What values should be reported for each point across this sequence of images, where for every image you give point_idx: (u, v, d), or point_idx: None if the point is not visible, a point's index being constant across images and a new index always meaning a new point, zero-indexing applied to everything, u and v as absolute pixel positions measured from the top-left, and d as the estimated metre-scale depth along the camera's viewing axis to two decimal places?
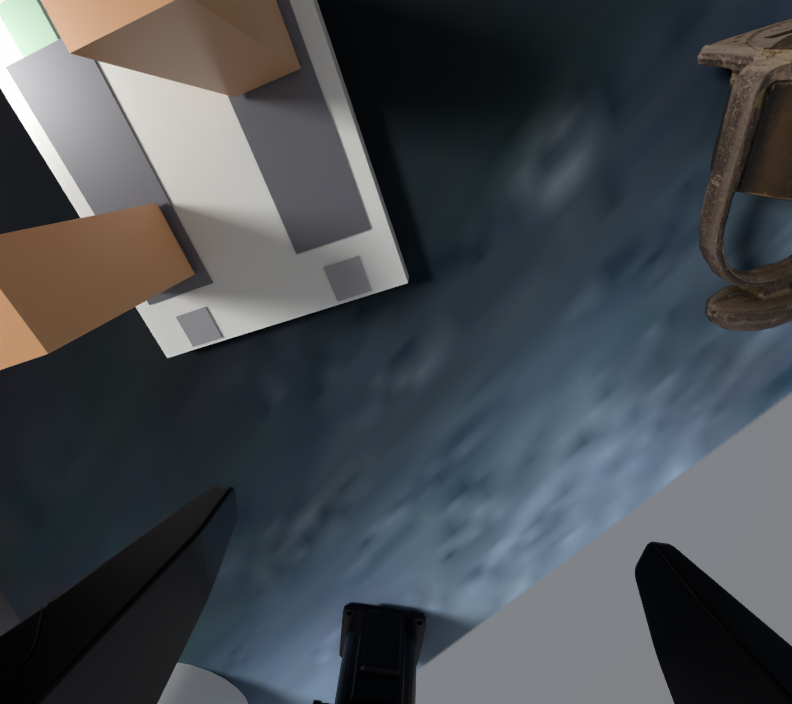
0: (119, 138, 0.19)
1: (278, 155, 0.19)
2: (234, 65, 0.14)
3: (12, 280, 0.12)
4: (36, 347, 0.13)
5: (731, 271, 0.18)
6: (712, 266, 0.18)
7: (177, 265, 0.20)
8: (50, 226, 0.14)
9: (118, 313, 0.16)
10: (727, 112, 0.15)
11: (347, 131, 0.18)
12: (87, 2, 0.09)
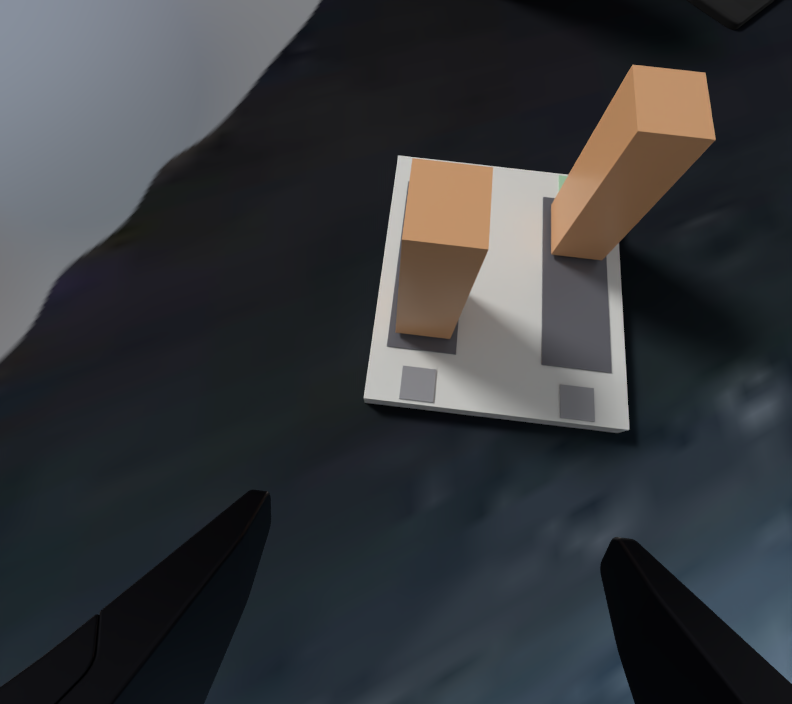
0: None
1: (559, 297, 0.25)
2: (611, 219, 0.21)
3: None
4: (482, 241, 0.15)
5: None
6: None
7: None
8: None
9: (470, 290, 0.18)
10: None
11: (615, 305, 0.25)
12: (661, 121, 0.17)
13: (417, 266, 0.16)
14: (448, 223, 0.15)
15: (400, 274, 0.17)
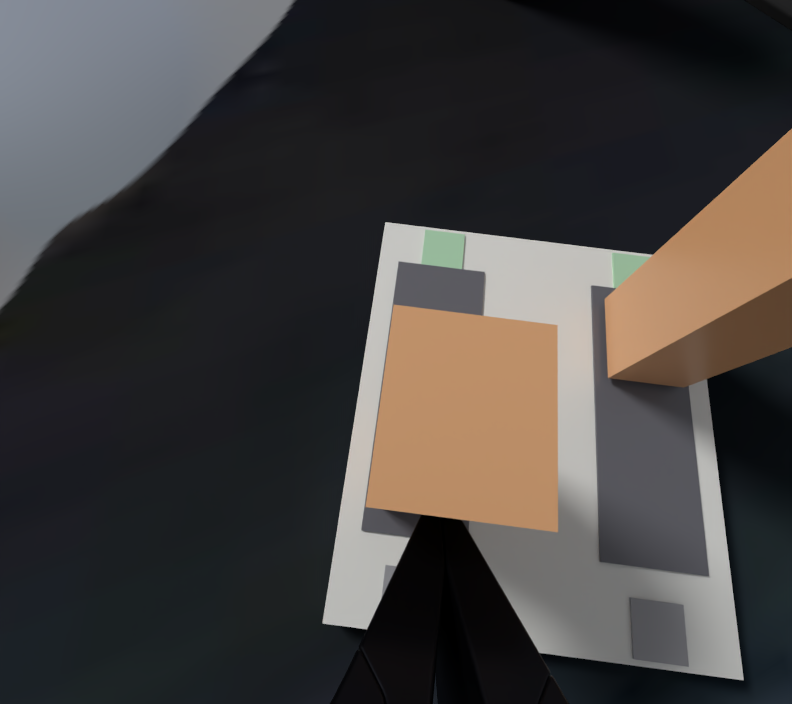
0: None
1: (621, 445, 0.16)
2: (719, 353, 0.13)
3: None
4: (544, 510, 0.07)
5: None
6: None
7: None
8: None
9: None
10: None
11: (706, 459, 0.16)
12: None
13: None
14: (467, 464, 0.07)
15: None
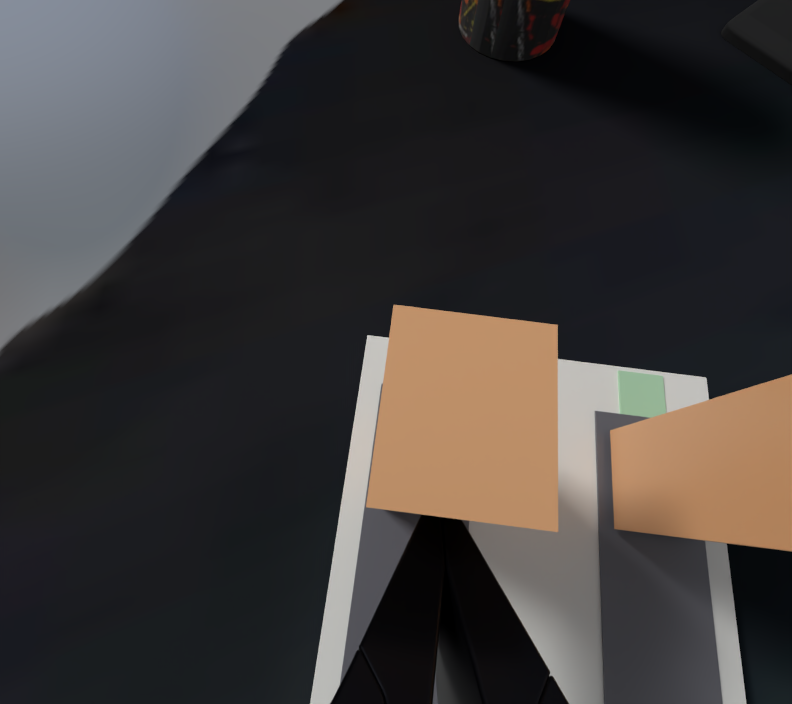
0: None
1: (630, 609, 0.15)
2: (745, 545, 0.12)
3: None
4: (545, 510, 0.07)
5: None
6: None
7: None
8: None
9: None
10: None
11: (725, 626, 0.15)
12: None
13: None
14: (467, 465, 0.07)
15: None
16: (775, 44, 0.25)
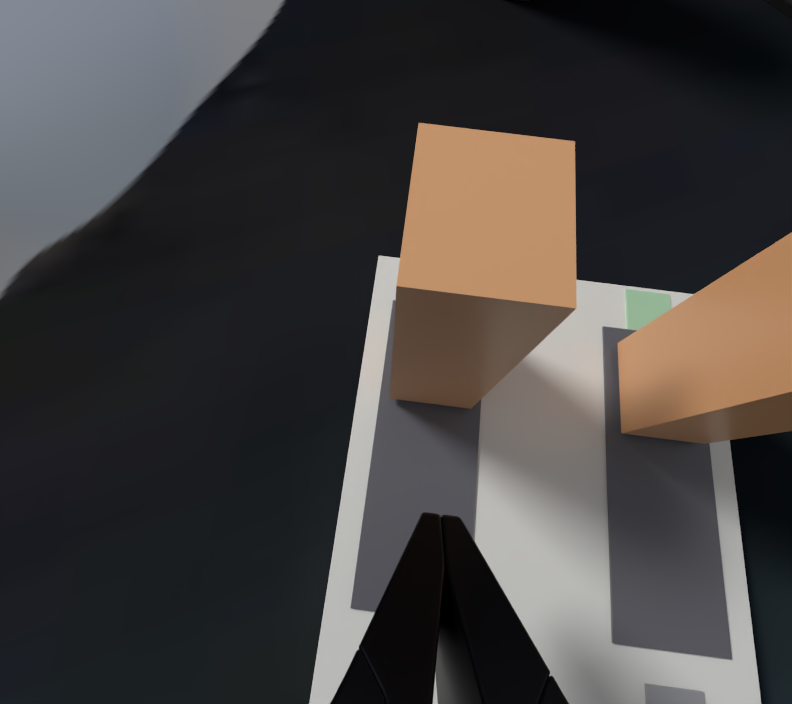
0: None
1: (636, 508, 0.15)
2: (750, 424, 0.12)
3: None
4: (563, 291, 0.07)
5: None
6: None
7: None
8: None
9: None
10: None
11: (729, 524, 0.15)
12: None
13: (426, 328, 0.09)
14: (490, 254, 0.07)
15: (395, 337, 0.09)
16: None
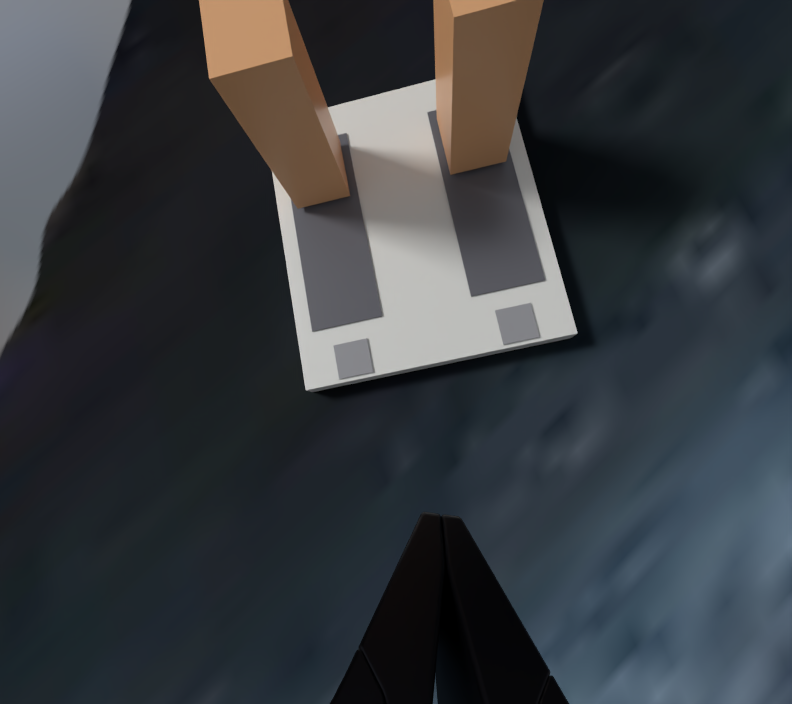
0: (345, 197, 0.24)
1: (472, 218, 0.23)
2: (488, 118, 0.19)
3: (288, 15, 0.15)
4: (285, 50, 0.15)
5: None
6: None
7: (344, 174, 0.22)
8: None
9: (320, 122, 0.18)
10: None
11: (533, 206, 0.22)
12: None
13: (249, 109, 0.16)
14: (248, 46, 0.15)
15: (243, 127, 0.17)
16: None
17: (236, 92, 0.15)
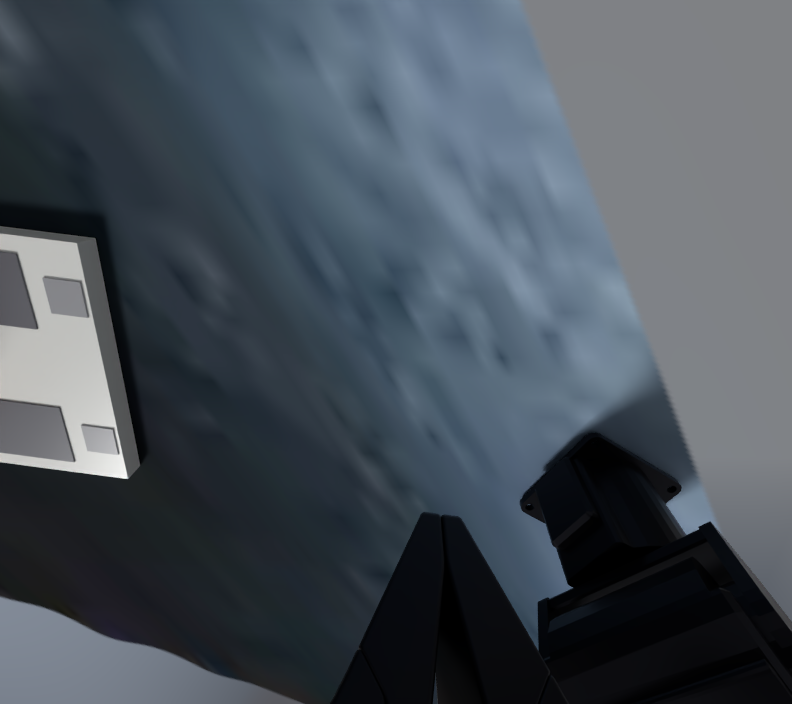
0: None
1: None
2: None
3: None
4: None
5: None
6: None
7: None
8: None
9: None
10: None
11: None
12: None
13: None
14: None
15: None
16: None
17: None
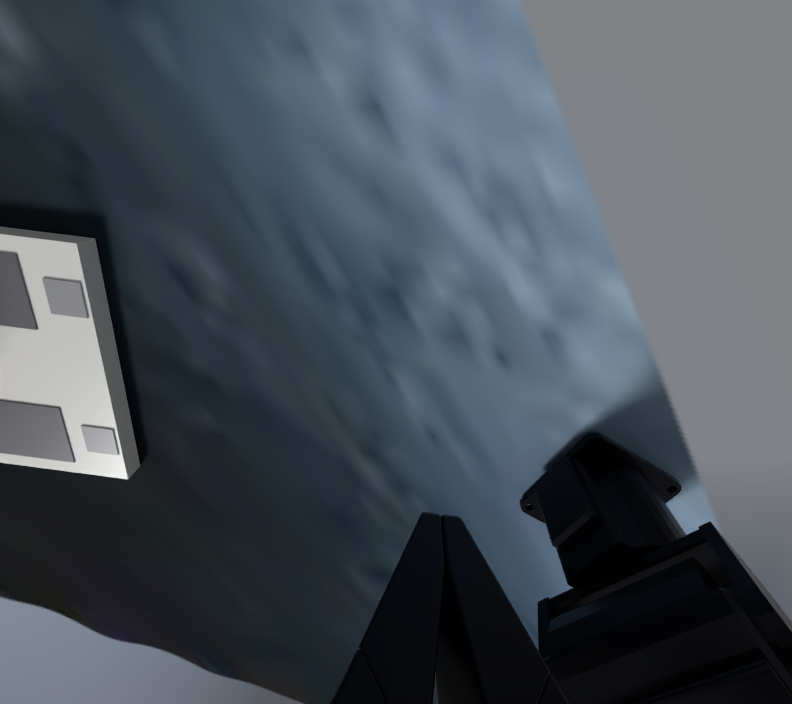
0: None
1: None
2: None
3: None
4: None
5: None
6: None
7: None
8: None
9: None
10: None
11: None
12: None
13: None
14: None
15: None
16: None
17: None
